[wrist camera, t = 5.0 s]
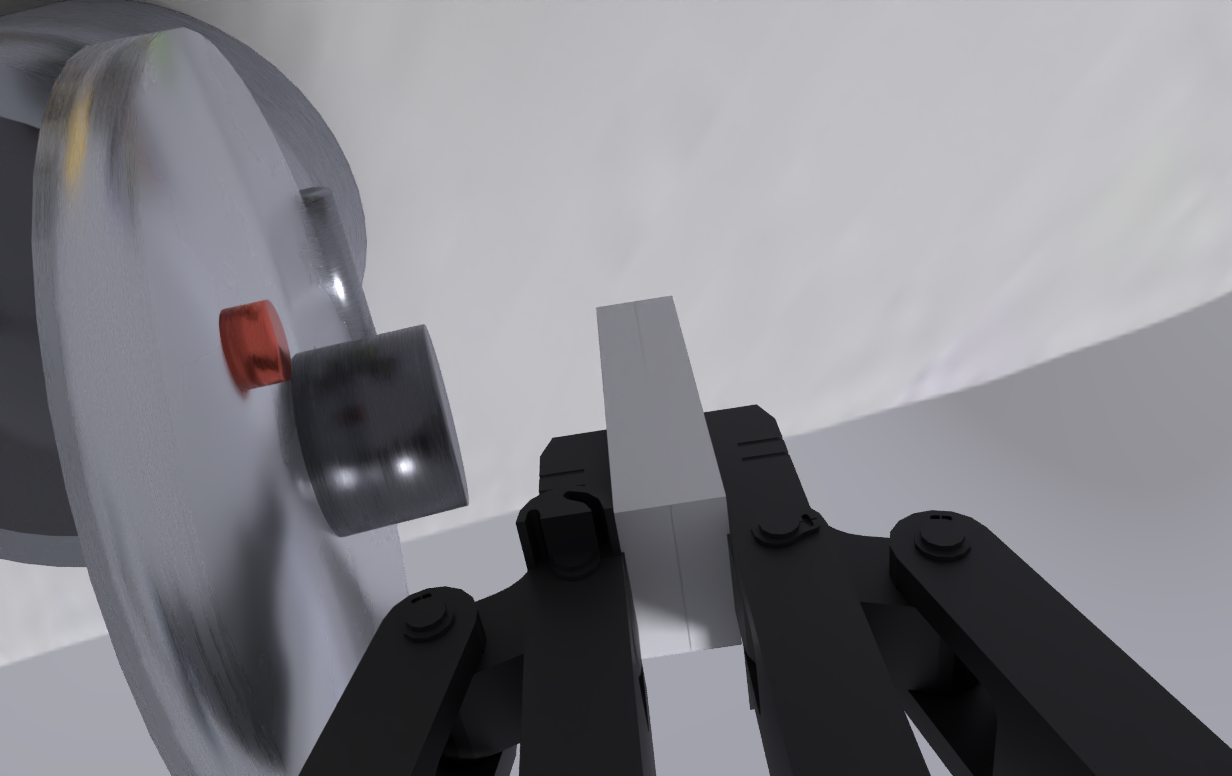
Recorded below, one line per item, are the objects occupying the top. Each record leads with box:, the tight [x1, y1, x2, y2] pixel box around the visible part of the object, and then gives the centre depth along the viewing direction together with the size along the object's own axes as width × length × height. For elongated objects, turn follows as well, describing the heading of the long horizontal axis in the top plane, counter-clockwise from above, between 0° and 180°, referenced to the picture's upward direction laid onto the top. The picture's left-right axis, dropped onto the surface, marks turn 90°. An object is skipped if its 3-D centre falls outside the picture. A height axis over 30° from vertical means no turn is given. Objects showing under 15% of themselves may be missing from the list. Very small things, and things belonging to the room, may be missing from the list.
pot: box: [0, 0, 377, 567], centre depth 28 cm, size 17×22×10 cm
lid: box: [32, 27, 469, 776], centre depth 17 cm, size 15×15×4 cm
